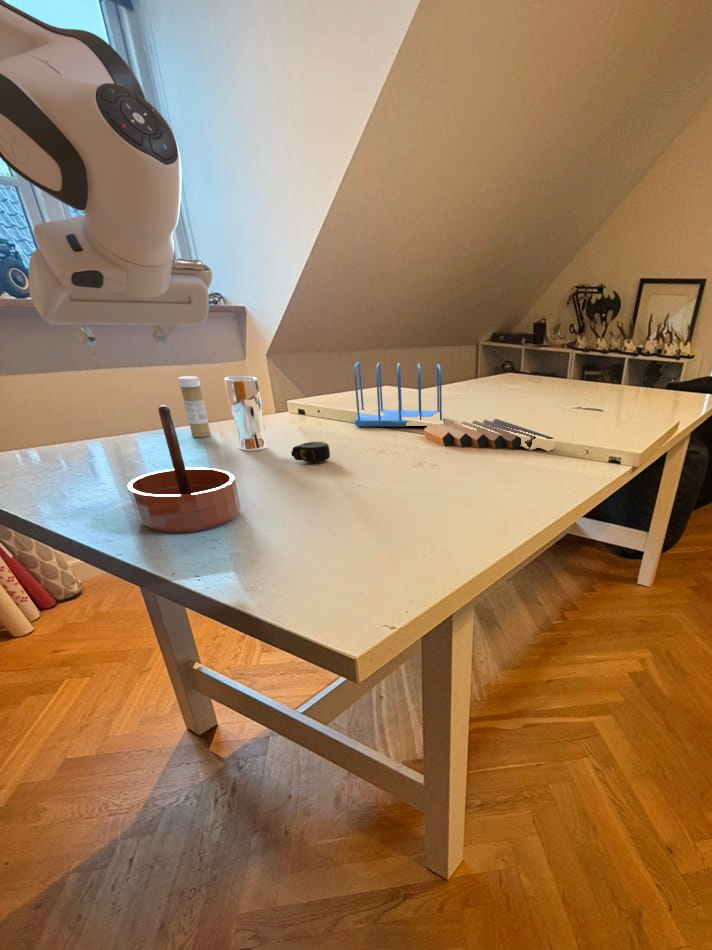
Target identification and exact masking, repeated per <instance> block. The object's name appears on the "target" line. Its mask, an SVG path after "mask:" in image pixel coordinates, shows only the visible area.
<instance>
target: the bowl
mask: <svg viewBox="0 0 712 950" xmlns="http://www.w3.org/2000/svg"><path fill="white" fill-rule="evenodd" d="M185 470H186V474H187V478H188V482H189V485H190V489H191V494H182V495H181V494H180V491H179V487H178V483H177V479H176V475H175V472H174V468H172V469H165V470H159V471H154V472H150V473H147V474H143V475H141V476H138V477H136V478H133V479H131V480H130V482H128V484H127V490H128V493H129V497H130V500H131V503H132V507H133V510H134V513H135V516H136V520H137V521H138V522H139V523H140V524H141V525H143V526H145V527H147V528H148V529H150V530H152V531H156V532H161V533H170V534H175V533H176V534H181V533H182V534H183V533H196V532H202V531H207V530H212V529H215V528H219V527H222V526H225V525H226V524H228V523H230V522H232V521H234V520H235V518H237V516H238V515H239V513H240V512H241V510H242V506H241V503H240V498H239V493H238V487H237V482H236V479H235V476H234V474H232V473H230V472H229V471H226V470H221V469H217V468H209V467H208V468H207V467H185Z"/></svg>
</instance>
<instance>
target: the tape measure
mask: <svg viewBox="0 0 712 950" xmlns="http://www.w3.org/2000/svg"><path fill="white" fill-rule="evenodd" d="M290 453H291V456H292V457H293V458H294V460H295V461H303V462H306V463H322V462H325V461H327V460H329V459H330V457H331V451H330V446H329V444H328V443H327V442H324V441H310V442H304V443H301V444H297V445H296V446H294V447H292V450H291V451H290Z"/></svg>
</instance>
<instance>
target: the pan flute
mask: <svg viewBox="0 0 712 950" xmlns="http://www.w3.org/2000/svg"><path fill="white" fill-rule="evenodd" d="M471 423H473V424H476V425H479V426H482V427H484V428H487V429H490V430H493V431H495V432H498V433H500V434H502V435H499V434H497V433H494V432H491V431H488V430H486V429H483V428H480V427H477V426H475V425H472V424H471ZM471 423H469V422H466V421H462V422H461V423H460V424H464V425H467V426H470V427H473V428H476V429H477V432H476V431H474V430H471V429H469V428H466V427H463V426H461V425H460V424H458V423H455V422H451V423H450V424H449V425H447V424H445V423H444V424H440V425H439V426H438V427H434V426H432V425H428V426H427V427H424V429H423V433H424V438H425V439H427V440H429V441H431V442H433V443H435V444H438V445H440V446H442V447H444V446H445V447H452V446H453V445H455V446H457V447H460V448H469V447H470V446H472V447H474V448H477V449H483V448H484V449H485V448H487V447H489V448H492V449H494V450H500V449H501V450H502V449H504V446H505V448H507V449H510V450H512V451H515V450H516V451H517V450H520V449H521V447H520V445H521V438H520V437H518V436H517V435H514V434H511V433H509V432H506V431H511V432H514V433H519V434H523V435H526V436H529V437H530V438H531V439H530V440H527V441H525V443H526V444H527V446H528V447H529V449H530V447H531V445H532V440H533V439H535V438H536V437H535V436H532V435H529V434H526V433H523V432H520V431H517V430H521V431H524V432H528V433H531V434H534V435H538V436H542V437H545V438H547V439H554V438H553V436H549V435H546V434H543V433H541V432H537V431H534V430H531V429H528V428H526V427H522V426H519V425H516V424H513V423H510V422H507V421H504V420H501V419H498V418H494V419H493V420H492V421H491V420H488V419H484V420H483V421H482V422H481V421H477V420H473V422H471ZM483 423H484V424H483ZM489 425H490V426H489ZM449 426H451V427H449ZM494 427H495V428H494ZM508 427H509V428H508ZM497 428H499V429H497ZM511 428H512V429H511ZM500 429H502V430H500ZM514 429H516V430H514ZM503 430H506V431H503ZM519 448H520V449H519Z"/></svg>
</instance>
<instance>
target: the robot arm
mask: <svg viewBox="0 0 712 950" xmlns="http://www.w3.org/2000/svg"><path fill="white" fill-rule="evenodd" d="M178 145H179V144H178V141H177V139H176V135H175V134H174V132H173V130H172V128H171V127H170V125H169V123H168V122H167V121H166V119H165V117H164V116H163V115H162V114H161V113H160V112H159V111H158V110H157V109H156V108H155V107H154V106H153V105H152V104H151V103H150V102H148V99H147V97H146V94H145V92H144V90H143V87H142V86H141V84H140V82H139V80H138V78H137V77H136V75H135V73H134V72H133V70H132V69H131V67H130V65H128V64H127V62H126V61H125V60H124V59H123V57H122V56H121V55H120V54H119V52H117V50H115V49H114V47H112V46H111V45H110V44H109V42H106V41H105V40H104V39H103V38H102V37H100V36H98V35H96V34H95V33H92V32H91V31H88V30H83V29H78V28H77V29H76V28H62V27H58V26H54V25H51V24H49V23H46V22H44V21H42V20H40V19H38V18H36V17H34V16H33V15H31V14H29V13H27V12H25V11H23V10H21V9H19V8H17V7H16V6H13V5H12V4H10V3H8V2H7V1H4V0H0V159H1V160H2V161H3V162H4V164H6V165H7V166H8V167H9V168H10V169H11V170H12V171H13V172H15V173H16V174H17V175H18V176H20V177H21V178H22V179H24V180H25V181H26V182H28V183H30V184H31V185H33V186H34V187H36V188H38V189H39V190H41V191H42V192H44V193H46V194H47V195H49V196H50V197H52V198H54V199H56V200H57V201H59V202H61V203H63V204H64V205H67V206H68V207H70V208H72V209H75V210H77V211H82V212H83V213H82V214H79V215H76V216H72V217H69V218H65V219H59V220H53V221H48V222H47V221H45V222H41V223H38V224H36V225H35V226H34V227H33V235H34V238H35V241H36V244H37V246H38V248H37V249H35V250H34V251H33V252H32V253H31V256H30V258H29V265H28V266H29V267H28V291H29V297H30V299H31V302H32V304H33V306H34V307H35V309H36V311H37V313H38V315H39V316H40V317H41V318H42V319H43V320H44V321H45V322H47V323H48V324H49V325H53V326H60V325H61V326H62V325H64V326H65V325H70V326H72V328H73V329H74V330H75V331H76V335H77V338H78V340H79V341H80V343H81V345H82V346H96V335H95V333H94V332H93V331H92V328H91V326H90V325H94V326H95V325H99V326H101V325H103V326H105V325H111V326H112V325H114V326H115V325H116V326H118V325H120V326H121V325H123V326H124V325H127V326H128V325H129V326H134V325H135V326H137V325H138V326H140V325H142V326H144V325H145V326H146V325H147V326H149V325H150V326H152V327H151V336H152V338H153V340H154V342H155V344H157V345H158V344H159V345H160V344H161V345H163V344H169V337H170V336H172V334H173V333H175V332H176V331H177V330H178V329H179V327H180V325H181V326H190V325H191V326H198V325H199V326H200V325H202V324H203V323H205V322H206V321H207V319H208V316H209V305H210V304H209V301H210V299H209V298H210V297H209V290H208V289H209V288H210V286H211V285H212V284H211V283H212V280H213V272H212V269H211V268H210V267H209V265H207V264H205V263H204V262H203V261H202V260H200V259H195V258H193V259H185V258H184V259H183V258H179V257H174V256H175V242H174V237H173V233H174V231H175V230H176V228H177V226H178V225H179V224H178V223H179V218H180V211H181V200H182V186H183V185H182V184H183V182H182V181H183V175H182V174H183V173H182V171H183V170H182V169H183V168H182V160H181V153H180V149H179V146H178Z"/></svg>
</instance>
